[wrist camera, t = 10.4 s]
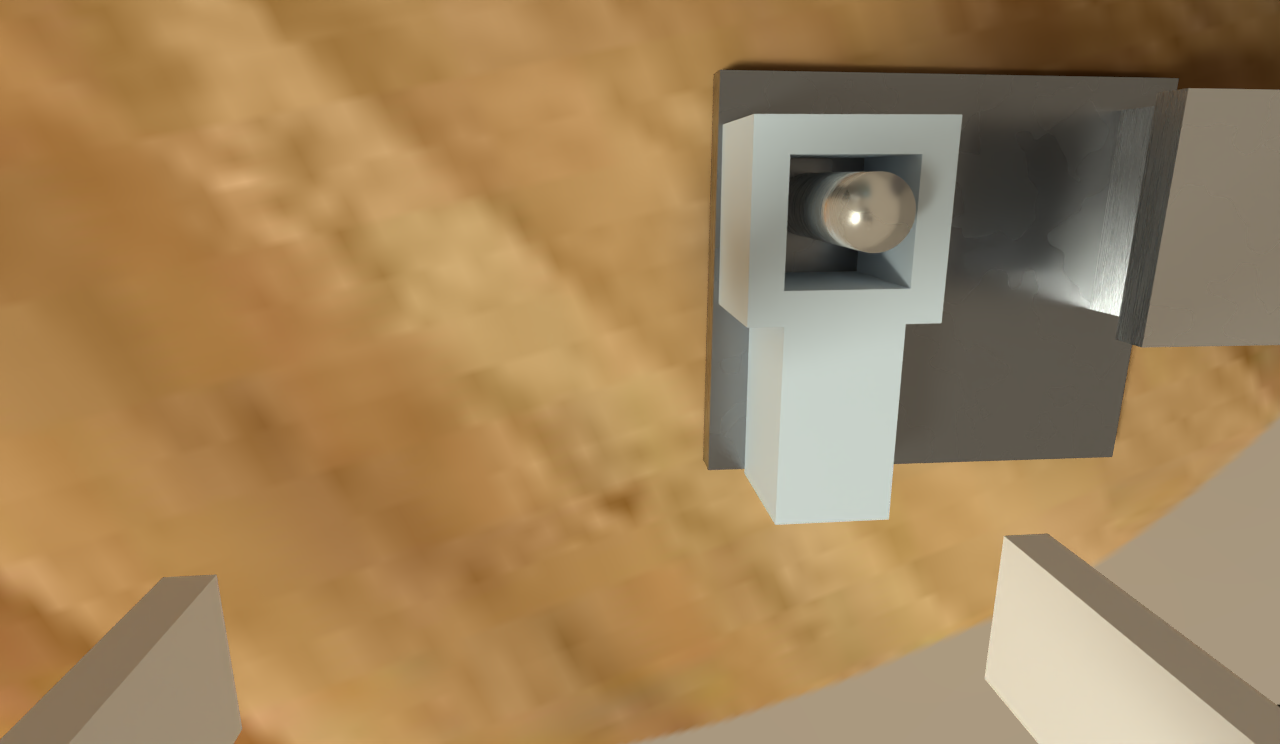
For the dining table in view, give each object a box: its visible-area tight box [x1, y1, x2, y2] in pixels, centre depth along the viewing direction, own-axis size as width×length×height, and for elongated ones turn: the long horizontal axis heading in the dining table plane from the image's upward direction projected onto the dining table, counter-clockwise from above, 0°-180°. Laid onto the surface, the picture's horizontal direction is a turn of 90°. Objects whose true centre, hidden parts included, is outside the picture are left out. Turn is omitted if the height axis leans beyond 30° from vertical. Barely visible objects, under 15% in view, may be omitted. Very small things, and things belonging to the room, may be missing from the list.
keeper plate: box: [703, 70, 1280, 470], centre depth 23 cm, size 13×15×7 cm
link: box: [719, 114, 962, 525], centre depth 23 cm, size 12×6×4 cm, turn 0°
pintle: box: [787, 171, 916, 253], centre depth 21 cm, size 2×2×6 cm
